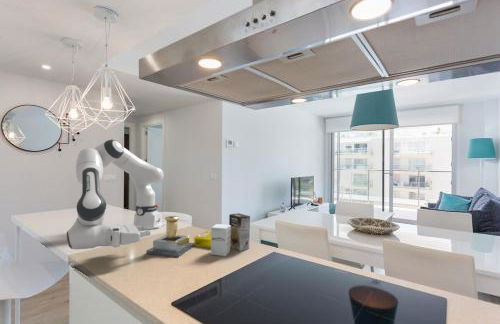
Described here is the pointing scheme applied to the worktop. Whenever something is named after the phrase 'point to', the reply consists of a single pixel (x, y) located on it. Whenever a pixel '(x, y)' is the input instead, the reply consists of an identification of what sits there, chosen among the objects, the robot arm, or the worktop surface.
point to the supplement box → (220, 239)
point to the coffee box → (239, 231)
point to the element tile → (203, 239)
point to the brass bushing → (171, 228)
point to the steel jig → (171, 246)
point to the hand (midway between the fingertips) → (147, 230)
